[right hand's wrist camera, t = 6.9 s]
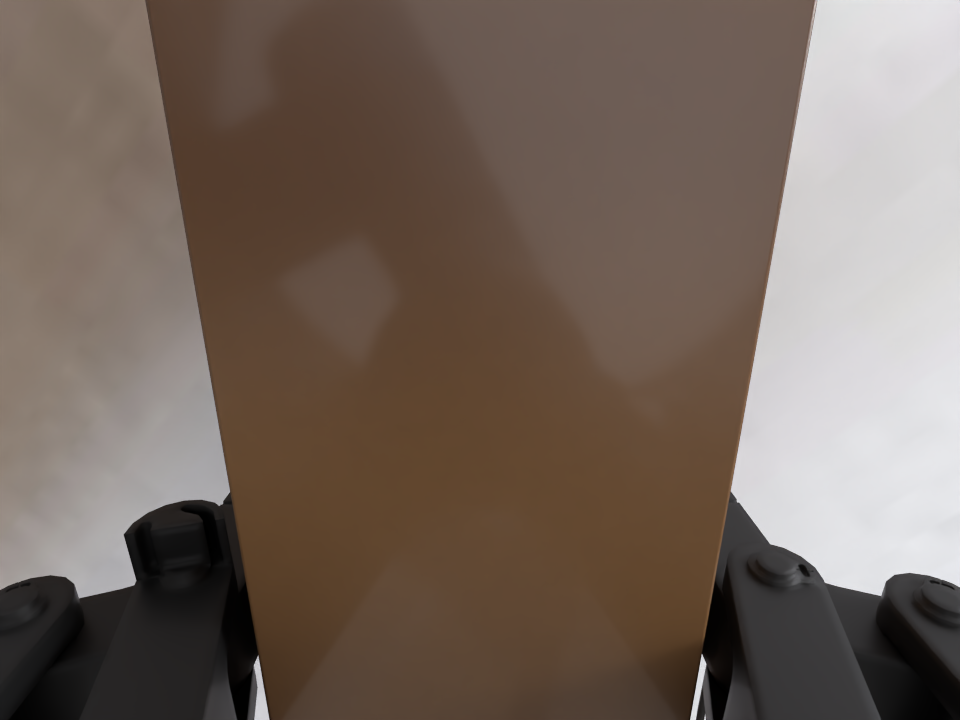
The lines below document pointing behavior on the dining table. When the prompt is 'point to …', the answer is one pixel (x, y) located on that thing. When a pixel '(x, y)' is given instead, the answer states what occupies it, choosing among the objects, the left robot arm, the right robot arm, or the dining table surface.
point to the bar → (480, 332)
